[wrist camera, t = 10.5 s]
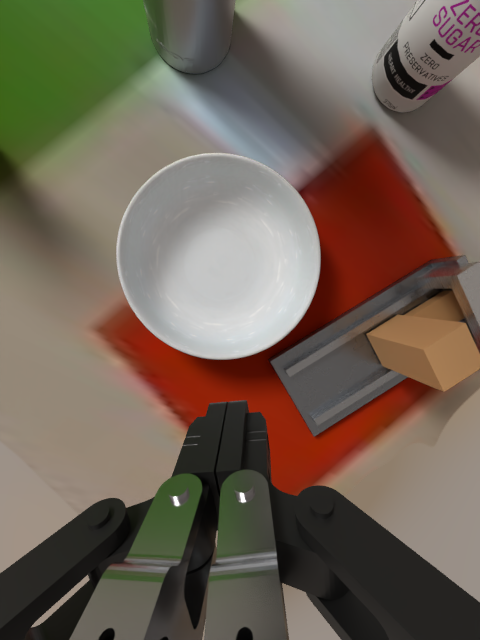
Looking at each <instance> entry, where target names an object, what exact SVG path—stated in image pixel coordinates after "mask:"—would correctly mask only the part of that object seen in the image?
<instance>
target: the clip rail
mask: <svg viewBox="0 0 480 640" xmlns="http://www.w3.org/2000/svg"><path fill="white" fill-rule="evenodd" d="M442 291H453V292H454V294H455V297H456V299H457V301H458V303H459V306H460V308H461V310H462V312H463V314H464V317H465V318H463V319H462V320H460V321H459V322H462V323H466V325H467V327H468V329H469V331H470V333H471V336H472V338H473V340H474V342H475V344H476V347H477V349H478V351H479V353H480V263H479V262H473V263H468V260H467V258H466V256H465V255H462V256H455V257H447V258H440V259H433V260H430V261H428V262H427V263H425V264H423V265H422V266H420V267H419V268H417V269H415V270H414V271H412V272H410V273H409V274H407V275H405V276H404V277H402V278H401V279H399V280H397V281H396V282H394V283H392V284H391V285H389V286H387V287H386V288H384V289H383V290H381V291H379V292H378V293H376V294H374V295H373V296H371V297H369V298H368V299H366V300H365V301H363V302H361V303H360V304H358V305H356V306H355V307H353V308H351V309H350V310H348V311H347V312H345V313H343V314H342V315H340V316H338V317H337V318H335V319H333V320H332V321H330V322H329V323H327V324H325V325H324V326H322V327H320V328H319V329H317V330H315V331H314V332H312V333H311V334H309V335H307V336H306V337H304V338H302V339H301V340H299V341H298V342H296V343H294V344H293V345H291V346H289V347H288V348H286V349H284V350H283V351H281V352H280V353H278V354H276V355H275V356H273V357H271V358H270V359H268V360H269V361H270V363H271V365H272V367H273V368H274V370H275V372H276V373H277V375H278V377H279V379H280V380H281V382H282V384H283V385H284V387H285V389H286V390H287V392H288V394H289V396H290V397H291V399H292V401H293V402H294V404H295V406H296V408H297V409H298V411H299V413H300V414H301V416H302V418H303V420H304V421H305V423H306V425H307V426H308V428H309V430H310V431H311V433H312V434H313V436H316V435H317V434H319V433H321V432H322V431H324V430H325V429H327V428H328V427H330V426H332V425H333V424H335V423H336V422H338V421H339V420H341V419H343V418H344V417H346V416H347V415H349V414H351V413H352V412H354V411H355V410H357V409H358V408H360V407H362V406H363V405H365V404H366V403H368V402H369V401H371V400H373V399H374V398H376V397H377V396H379V395H380V394H382V393H384V392H385V391H387V390H388V389H390V388H391V387H393V386H395V385H396V384H398V383H399V382H401V381H403V380H404V379H406V378H407V376H405V375H402V374H400V373H398V372H395V371H393V370H391V369H388V368H386V367H384V366H382V364H381V362H380V360H379V358H378V356H377V354H376V352H375V350H374V349H373V347H372V345H371V343H370V341H369V339H368V337H367V335H366V334H367V333H369V332H370V331H372V330H374V329H375V328H377V327H379V326H380V325H382V324H383V323H385V322H387V321H388V320H390V319H391V318H393V317H395V316H396V315H405V314H406V313H408V312H410V311H411V310H413V309H414V308H416V307H418V306H419V305H421V304H423V303H424V302H426V301H427V300H429V299H431V298H432V297H434V296H435V295H437V294H439V293H440V292H442Z"/></svg>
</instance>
